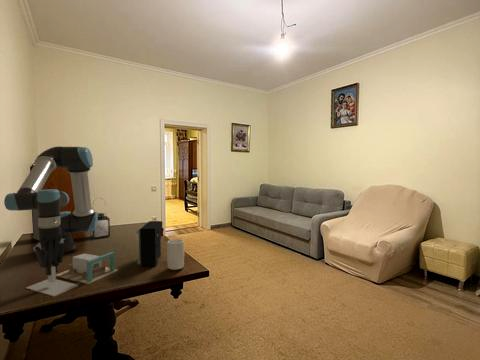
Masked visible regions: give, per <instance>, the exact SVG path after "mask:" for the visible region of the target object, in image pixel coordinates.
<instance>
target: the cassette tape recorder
mask: <svg viewBox="0 0 480 360" xmlns="http://www.w3.org/2000/svg"><path fill="white" fill-rule="evenodd" d="M31 211H32V213H31V214H32V228H33V229H32V230H33V231H32V234H33V236H32V237H33V240H37V241H39V239H40V238H39V228H40V227H39V226H38V210H31Z"/></svg>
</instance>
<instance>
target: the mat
mask: <svg viewBox="0 0 480 360" xmlns="http://www.w3.org/2000/svg"><path fill="white" fill-rule="evenodd" d="M77 287H79V285H78V284H76V283H72V282H68V281H66V280H65V281H64V280H61V279H57V278H56V281H55V282H53V283H52V282H48V278H47V279H44V280H41V281H39V282H37V283H34V284H31V285H29V286H26V287H25V289H27V290H29V289H30V290H29V291H33V292H37V293H40V294H44V295H46V296H51V297H53V298H55V297H57V296H59V295H61V294H63V293H66V292H68V291H70V290H73V289H75V288H77Z"/></svg>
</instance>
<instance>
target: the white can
mask: <svg viewBox="0 0 480 360" xmlns="http://www.w3.org/2000/svg"><path fill="white" fill-rule="evenodd" d="M166 243H167V245H166V261H167V264H166V265H167V269H169V270H172V271H175V270H180V269H182V268H184V266H185V265H184V264H185V242H184V240H183V239H180V238H173V239H169V240H168V241H167V242H166Z"/></svg>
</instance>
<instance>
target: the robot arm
mask: <svg viewBox="0 0 480 360" xmlns="http://www.w3.org/2000/svg"><path fill="white" fill-rule="evenodd" d="M93 164H94V160H93V155H92V153H91V150H90V149H89V148H88V147H87V146H86V147H85V146H84V147H83V146H53V147H50V148H48V149H46V150H44V151H42V152H40V153H39V155H37V157H36V158H35V160H34V166H33V167H32V168H31V170H30V171H29V173H28V174H27V176H26V178H25V179H24V181H23V183H22V184H21V185H20V187H19V188H18V190H17V191H16V192H12V193H11V192H10V193H8V194H6V195H5V197H4V201H3V203H4V204H3V205H4V207H5V209H6V210H8V211H32V210H38V226H39V227H40V228H39V238H40V239H39V240H38V242H37V244H36V245H33V246H31V249H32V250H33V252H35V256H36V258H37V261H38V265H39V267H40V268H42V269H43V268H44V269H45V274H46V276H47V279H48V282H52V283H53V282H55V281H56V279H57V276H56V274H58V266H60V263H62V262H63V259H64V253H69V252H71V251H74V250H75V248H76V244H75V241H74V239H73V236H72V233H83V232H86V233H88V232H90V231H94V230H95V229H96V227H97V222H98V213H99V212H98V211H97V212H95V209H94V207H93V206H92V199H91V192H90V183H89V182H90V181H89V175H88V174H89V172H90V171H91V168H93V166H94V165H93ZM56 168H66V172H68V173H69V174H70V182H71V188H72V195H73V203H74V210H73V211H72V213H71V211H67V210H65V211H61V209H62V208H65V207H66V206H67V205H68V203H69V202H70V197H69V194H68V193H66V192H65V191H61V190H59V189H57V188H54V189H53V188H51V189H43V187H44V186H45V183H46V182H47V180H48V178H49V177H50V174H51V173H52V172H53V171H55V170H56ZM42 248H43V250H42Z"/></svg>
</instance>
